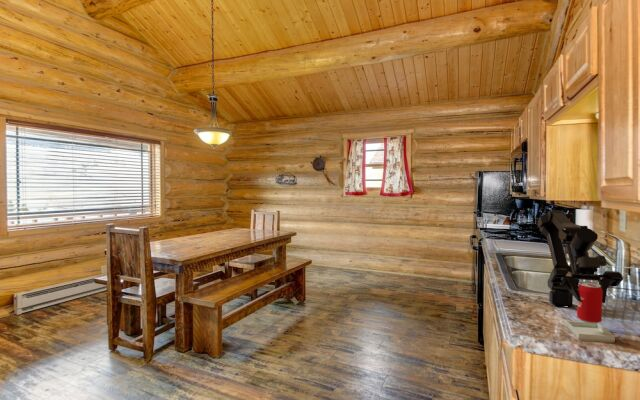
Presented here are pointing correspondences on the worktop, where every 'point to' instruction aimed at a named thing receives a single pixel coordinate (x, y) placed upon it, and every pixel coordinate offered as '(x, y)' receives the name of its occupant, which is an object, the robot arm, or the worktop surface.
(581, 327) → the tray
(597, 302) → the beverage can
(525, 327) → the worktop surface
